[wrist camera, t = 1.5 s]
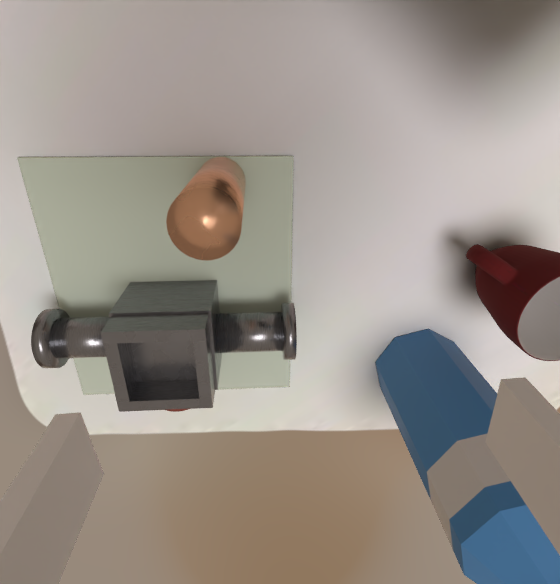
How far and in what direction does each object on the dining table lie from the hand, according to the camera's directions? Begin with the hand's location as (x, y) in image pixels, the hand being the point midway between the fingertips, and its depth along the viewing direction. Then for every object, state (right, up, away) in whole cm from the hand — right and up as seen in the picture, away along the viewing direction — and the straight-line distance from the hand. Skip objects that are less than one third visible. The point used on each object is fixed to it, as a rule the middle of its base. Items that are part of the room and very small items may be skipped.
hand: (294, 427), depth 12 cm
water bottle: (+15, -4, +31) cm, 34 cm away
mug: (+20, +7, +26) cm, 33 cm away
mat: (-10, +5, +25) cm, 27 cm away
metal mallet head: (-10, 0, +26) cm, 28 cm away
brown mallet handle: (-5, +14, +20) cm, 25 cm away
